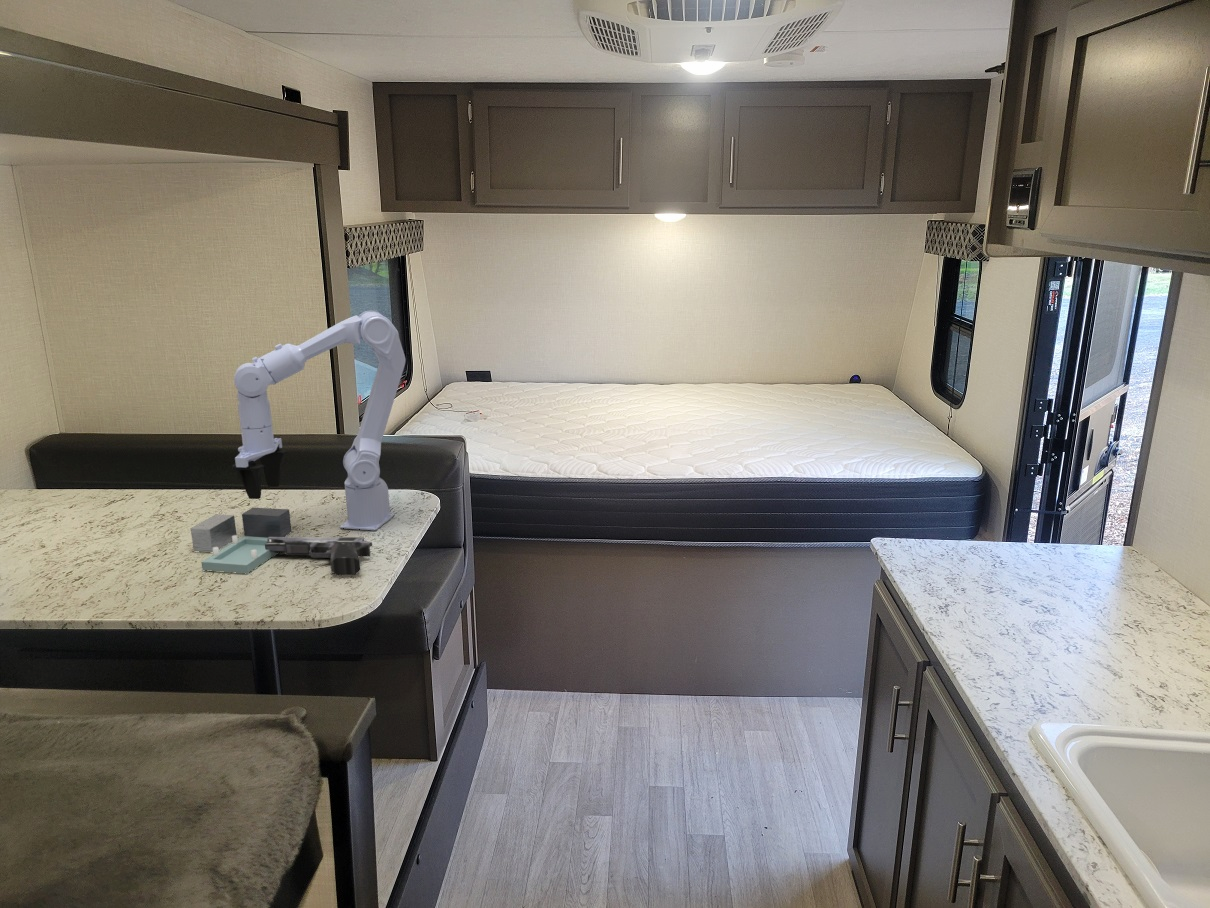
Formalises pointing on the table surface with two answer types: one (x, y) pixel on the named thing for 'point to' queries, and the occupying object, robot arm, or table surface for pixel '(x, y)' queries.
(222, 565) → the tray
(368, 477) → the robot arm
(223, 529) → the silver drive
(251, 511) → the dark grey rectangular block
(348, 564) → the handgun
